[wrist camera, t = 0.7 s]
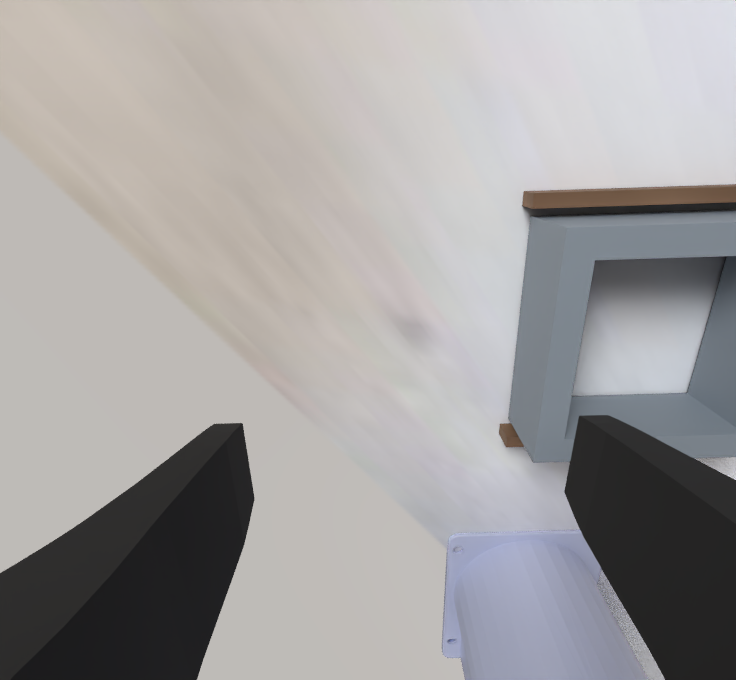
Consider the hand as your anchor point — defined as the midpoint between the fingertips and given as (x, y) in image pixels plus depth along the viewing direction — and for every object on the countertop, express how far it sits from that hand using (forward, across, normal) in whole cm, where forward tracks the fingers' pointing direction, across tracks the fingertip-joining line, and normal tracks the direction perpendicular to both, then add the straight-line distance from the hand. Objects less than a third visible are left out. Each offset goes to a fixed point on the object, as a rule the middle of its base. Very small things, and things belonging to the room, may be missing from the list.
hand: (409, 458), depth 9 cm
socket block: (+8, -9, 0) cm, 13 cm away
